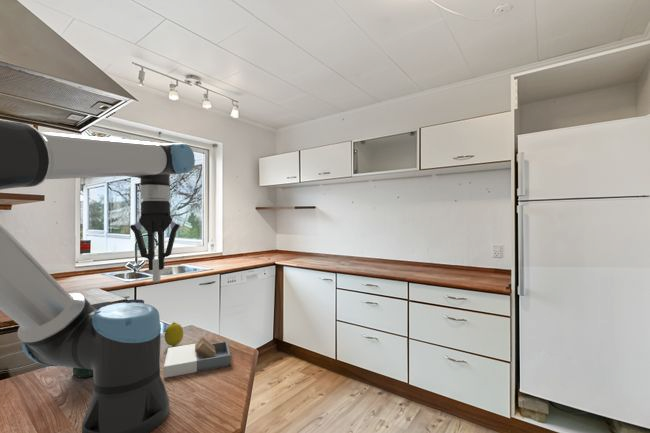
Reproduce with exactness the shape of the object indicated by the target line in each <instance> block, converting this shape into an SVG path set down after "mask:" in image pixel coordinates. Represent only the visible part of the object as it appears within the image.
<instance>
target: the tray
mask: <svg viewBox="0 0 650 433" xmlns="http://www.w3.org/2000/svg"><path fill="white" fill-rule="evenodd" d="M211 344H212V345H213V346H215V351H216V354H215V355H214V356H213V357H212V358H206V359H204V358H203V357H201V356H200V355H199V354H198V353H197V372H196V373H198V372H204V371H208V370H215V369H220V368H224V367H230V366H231V352H230V348H229V343H228V341H227V340H225V341H221V342H219V341H218V342H214V343H213V342H212V343H211Z"/></svg>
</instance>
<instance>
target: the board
mask: <svg viewBox="0 0 650 433" xmlns="http://www.w3.org/2000/svg"><path fill="white" fill-rule="evenodd" d="M195 344H196V343H191V344H185V345H179V346H177V345H176V346H175V347H173V346H171V347H168V348H167V352H166V355H165V356H166V357H165V360H164V364H163V378H164V379H165V378H172V377H177V376H181V375H186V374H187V375H188V374H192V373H198V372H197V353H196V352H195Z"/></svg>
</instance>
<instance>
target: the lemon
mask: <svg viewBox="0 0 650 433" xmlns="http://www.w3.org/2000/svg"><path fill="white" fill-rule="evenodd" d="M183 336H184V330H183V327H182V325H181V324H179V323H176V322H175V321H174V322H172V323H171V324H169V325H168V326H167V327H166V328H165V331H164V340H165V343H166V345H168V346H171V347H177V345H178V344H180V343H181V342H182V340H183Z"/></svg>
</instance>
